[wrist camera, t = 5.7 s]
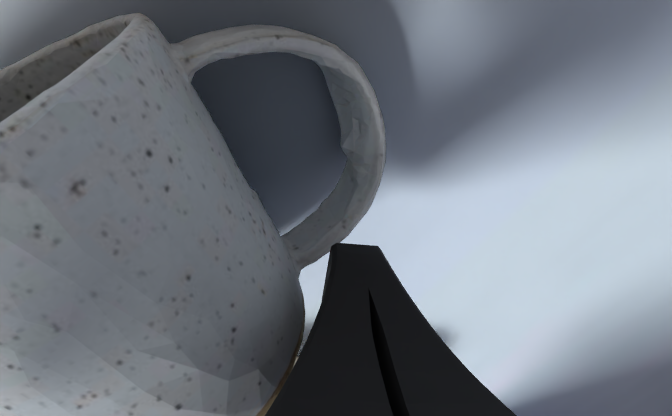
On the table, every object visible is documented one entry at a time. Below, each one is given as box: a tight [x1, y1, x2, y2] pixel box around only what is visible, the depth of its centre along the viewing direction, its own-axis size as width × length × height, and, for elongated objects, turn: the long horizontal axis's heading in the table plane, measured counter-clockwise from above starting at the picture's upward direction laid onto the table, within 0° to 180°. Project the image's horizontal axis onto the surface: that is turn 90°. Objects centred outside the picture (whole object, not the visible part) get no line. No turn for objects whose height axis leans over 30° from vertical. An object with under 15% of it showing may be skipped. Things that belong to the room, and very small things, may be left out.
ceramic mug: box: [0, 13, 386, 416], centre depth 10 cm, size 11×8×8 cm
